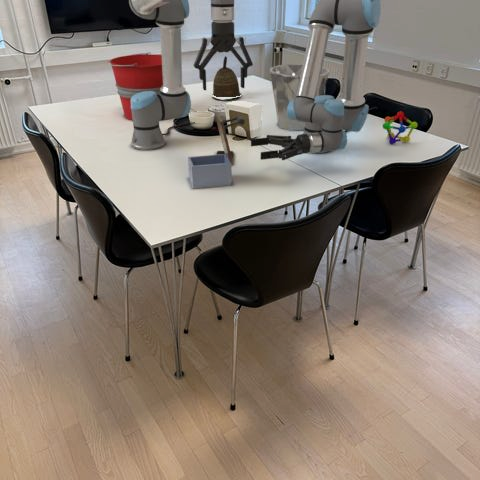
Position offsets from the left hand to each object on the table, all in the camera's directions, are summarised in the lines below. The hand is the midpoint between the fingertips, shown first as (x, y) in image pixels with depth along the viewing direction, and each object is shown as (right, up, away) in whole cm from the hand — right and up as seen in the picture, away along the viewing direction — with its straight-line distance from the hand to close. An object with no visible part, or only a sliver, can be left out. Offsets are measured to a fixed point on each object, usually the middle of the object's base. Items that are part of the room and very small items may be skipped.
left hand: (223, 88), depth 155 cm
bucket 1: (-47, +17, +93) cm, 106 cm away
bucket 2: (+35, +7, +78) cm, 86 cm away
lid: (-1, -15, +9) cm, 18 cm away
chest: (-6, -30, +17) cm, 36 cm away
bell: (-3, +38, +126) cm, 132 cm away
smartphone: (-1, -18, +37) cm, 41 cm away
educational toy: (+80, -7, +55) cm, 98 cm away
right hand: (+12, -18, +14) cm, 26 cm away
